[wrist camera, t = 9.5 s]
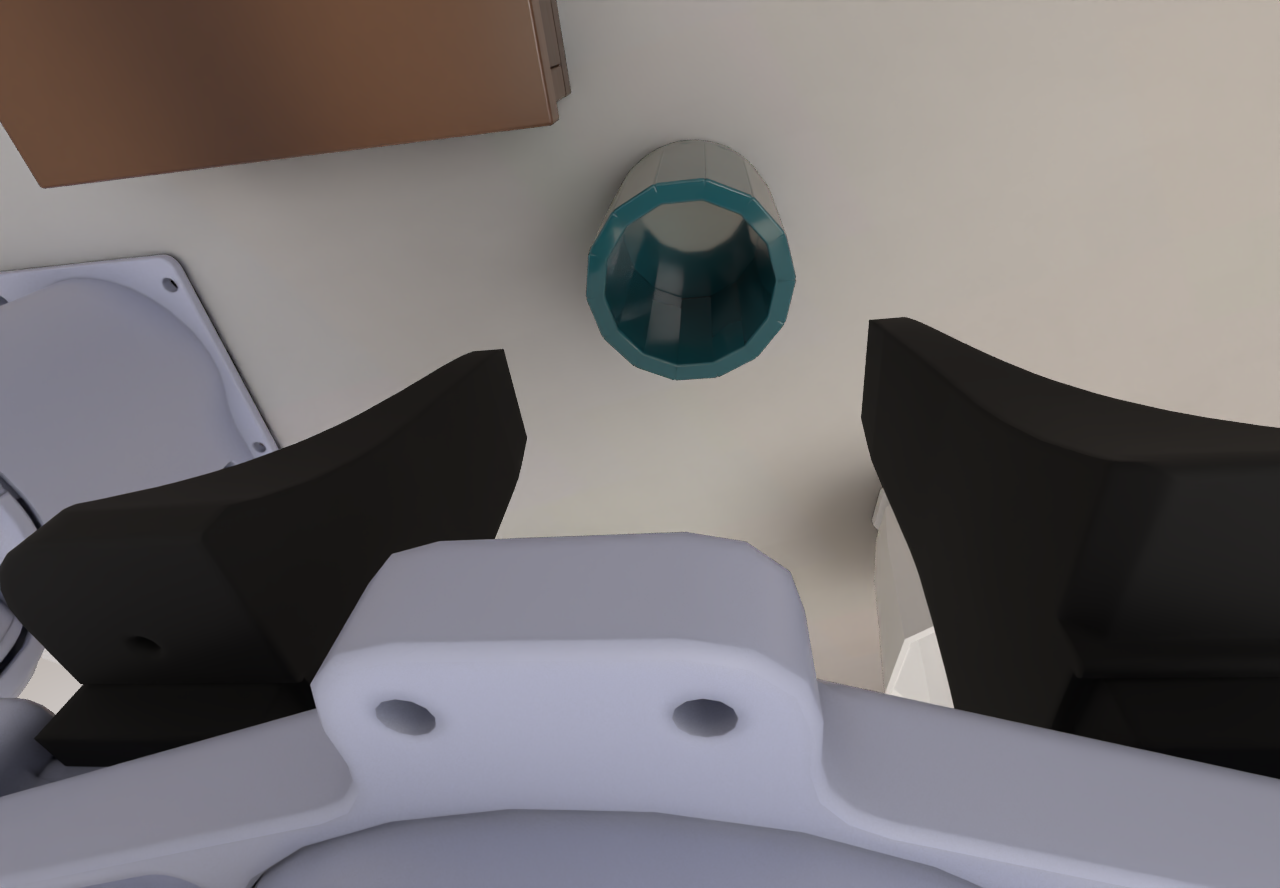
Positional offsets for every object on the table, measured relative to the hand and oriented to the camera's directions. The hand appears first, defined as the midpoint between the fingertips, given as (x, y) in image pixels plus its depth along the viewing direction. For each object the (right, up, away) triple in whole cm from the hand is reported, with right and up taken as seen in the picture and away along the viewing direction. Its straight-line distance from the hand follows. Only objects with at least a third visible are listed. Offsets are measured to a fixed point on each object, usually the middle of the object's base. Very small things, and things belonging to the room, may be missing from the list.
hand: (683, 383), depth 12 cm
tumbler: (+1, +6, +9) cm, 10 cm away
